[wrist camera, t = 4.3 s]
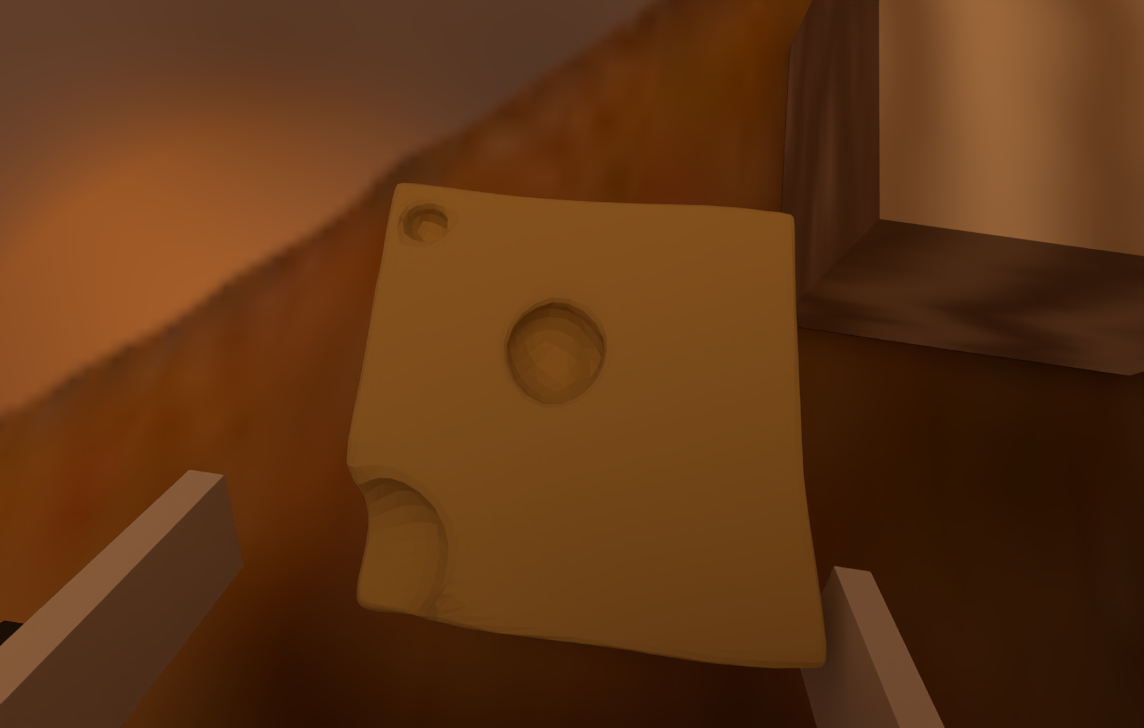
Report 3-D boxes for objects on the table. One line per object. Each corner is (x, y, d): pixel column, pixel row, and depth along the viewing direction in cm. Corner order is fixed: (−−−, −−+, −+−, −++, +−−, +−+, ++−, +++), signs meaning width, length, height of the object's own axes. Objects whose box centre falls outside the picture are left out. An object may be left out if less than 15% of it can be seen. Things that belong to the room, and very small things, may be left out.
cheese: (414, 593, 20) (280, 642, 11) (456, 308, 23) (383, 149, 14) (710, 619, 20) (844, 692, 11) (714, 329, 23) (820, 184, 14)
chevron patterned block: (1091, 88, 27) (1301, -91, 19) (1129, 375, 23) (1414, 293, 15) (790, 48, 27) (878, -143, 20) (775, 323, 23) (879, 218, 16)
